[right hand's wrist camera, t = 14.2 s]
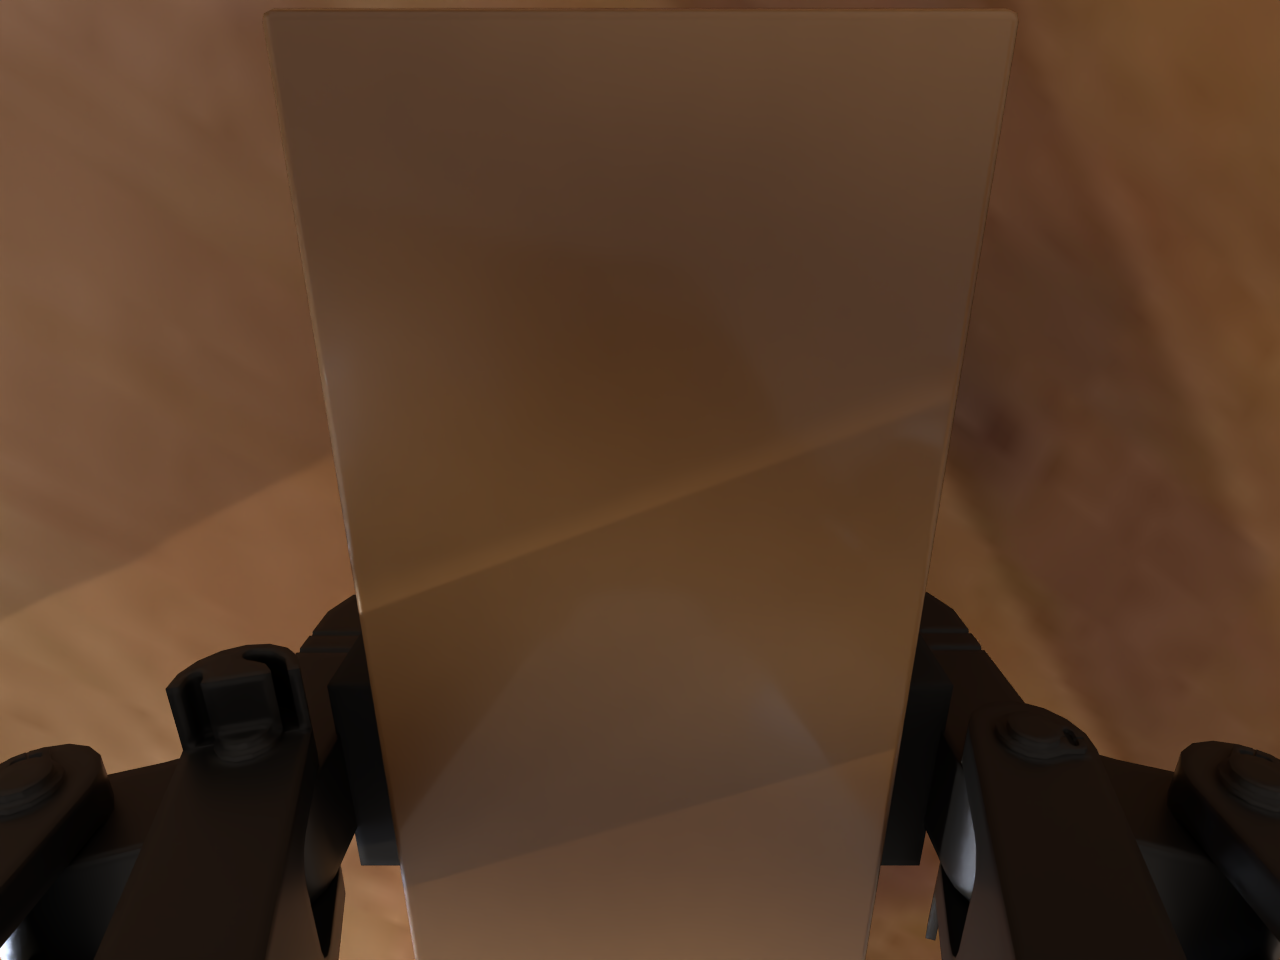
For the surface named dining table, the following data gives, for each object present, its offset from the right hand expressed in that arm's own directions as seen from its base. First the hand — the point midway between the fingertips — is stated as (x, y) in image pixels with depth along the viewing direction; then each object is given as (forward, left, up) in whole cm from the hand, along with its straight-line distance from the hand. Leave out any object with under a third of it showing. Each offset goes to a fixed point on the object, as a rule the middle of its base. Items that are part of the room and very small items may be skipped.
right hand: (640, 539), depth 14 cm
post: (-10, -31, -1) cm, 33 cm away
